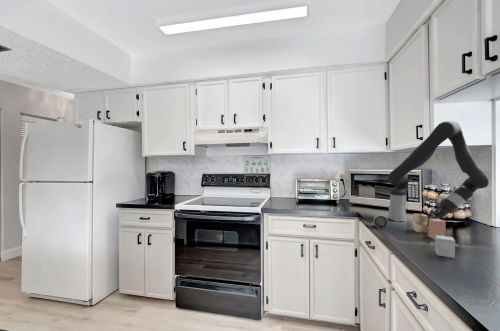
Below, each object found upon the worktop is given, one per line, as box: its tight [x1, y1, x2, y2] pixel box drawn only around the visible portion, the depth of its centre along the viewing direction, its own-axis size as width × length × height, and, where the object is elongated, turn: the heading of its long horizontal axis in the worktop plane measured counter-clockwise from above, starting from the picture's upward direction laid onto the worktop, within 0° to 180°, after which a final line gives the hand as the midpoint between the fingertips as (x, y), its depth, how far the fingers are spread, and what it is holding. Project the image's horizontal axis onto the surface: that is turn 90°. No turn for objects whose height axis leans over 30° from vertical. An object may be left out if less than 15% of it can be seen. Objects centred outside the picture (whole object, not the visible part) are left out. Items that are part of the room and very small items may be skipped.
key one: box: [412, 213, 429, 234], centre depth 137 cm, size 5×5×9 cm
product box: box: [434, 235, 456, 259], centre depth 106 cm, size 6×6×7 cm
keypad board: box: [426, 241, 460, 247], centre depth 130 cm, size 26×12×1 cm, turn 170°
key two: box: [427, 218, 447, 240], centre depth 124 cm, size 5×5×9 cm
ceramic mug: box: [367, 214, 389, 230], centre depth 151 cm, size 11×8×8 cm
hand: (426, 224), depth 136 cm, fingers closed
